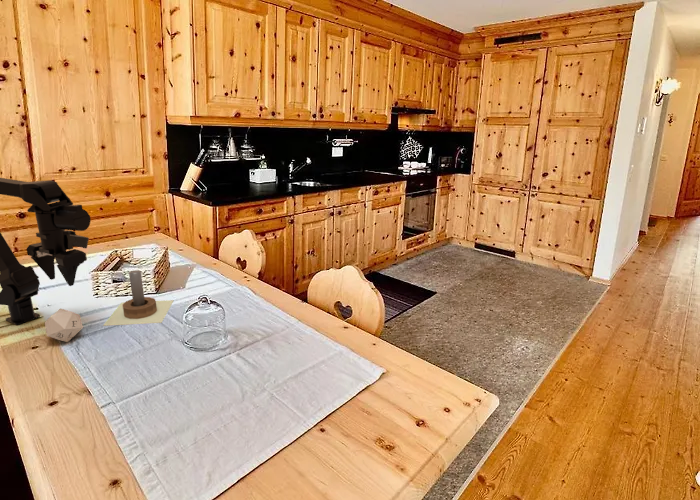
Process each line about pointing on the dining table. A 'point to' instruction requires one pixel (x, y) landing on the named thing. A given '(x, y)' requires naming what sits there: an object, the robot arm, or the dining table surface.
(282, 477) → the dining table surface
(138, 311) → the bead
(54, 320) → the die
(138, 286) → the grey rounded peg
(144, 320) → the mat
